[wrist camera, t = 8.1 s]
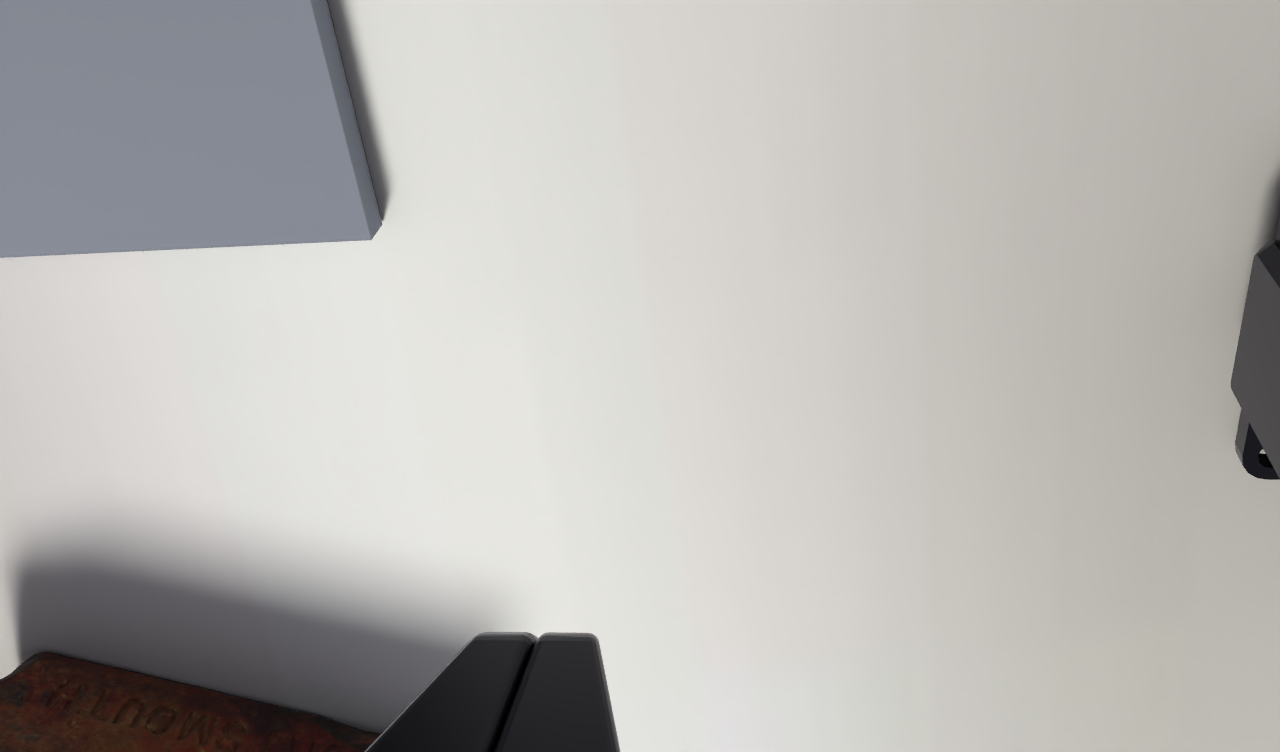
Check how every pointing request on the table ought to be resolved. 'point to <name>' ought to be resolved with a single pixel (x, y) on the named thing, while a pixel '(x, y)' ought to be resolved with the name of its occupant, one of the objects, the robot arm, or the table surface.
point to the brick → (149, 715)
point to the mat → (176, 127)
